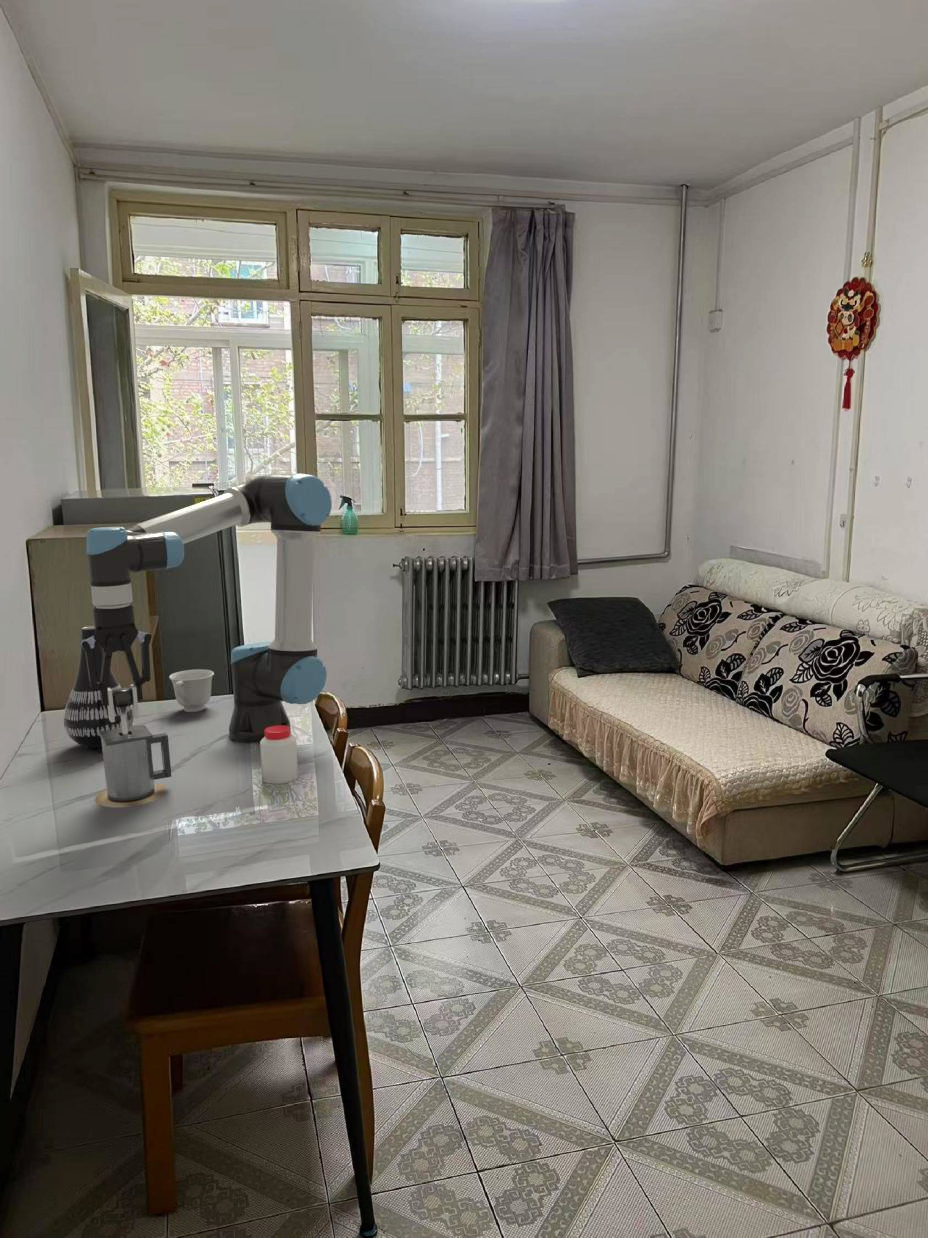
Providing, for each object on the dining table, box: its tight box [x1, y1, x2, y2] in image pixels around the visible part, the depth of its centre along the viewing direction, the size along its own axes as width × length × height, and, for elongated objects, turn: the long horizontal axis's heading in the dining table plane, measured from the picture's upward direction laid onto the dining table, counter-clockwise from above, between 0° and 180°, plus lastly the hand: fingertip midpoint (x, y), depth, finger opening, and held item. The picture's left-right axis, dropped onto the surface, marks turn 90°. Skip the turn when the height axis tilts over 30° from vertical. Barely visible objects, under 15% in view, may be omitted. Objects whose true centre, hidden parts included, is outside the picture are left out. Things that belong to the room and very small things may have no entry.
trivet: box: [94, 782, 168, 808], centre depth 191 cm, size 14×14×1 cm
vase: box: [63, 625, 135, 751], centre depth 224 cm, size 16×16×30 cm
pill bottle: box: [259, 725, 299, 785], centre depth 200 cm, size 8×8×11 cm
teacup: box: [168, 668, 215, 713], centre depth 254 cm, size 12×15×10 cm
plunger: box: [112, 687, 133, 735], centre depth 188 cm, size 7×7×19 cm
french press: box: [99, 724, 172, 803], centre depth 190 cm, size 13×9×13 cm
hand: (124, 718), depth 188 cm, fingers closed on plunger, 4 cm apart
